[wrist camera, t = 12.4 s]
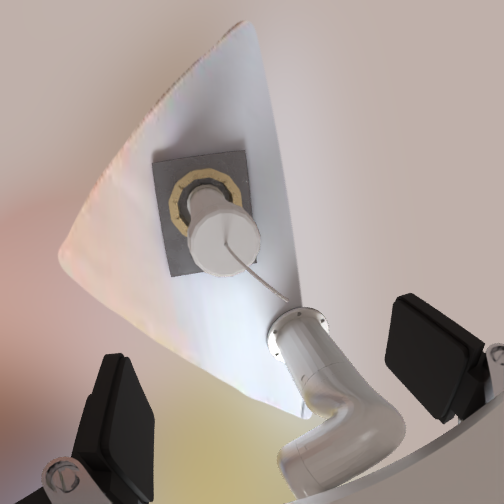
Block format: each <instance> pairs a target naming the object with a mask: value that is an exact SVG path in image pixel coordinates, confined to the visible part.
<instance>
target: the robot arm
mask: <svg viewBox="0 0 504 504" xmlns="http://www.w3.org/2000/svg"><path fill="white" fill-rule="evenodd" d="M328 334H329V325H328V322H327V320H326V318H325V317H324V316H323V314H322V313H320V312H319V311H318V310H315V309H313V308H308V307H301V308H296V309H293V310H290V311H288V312H286V313H284V314H283V315H282V316H280V317H279V318H278V319H277V320H276V321H275V322H274V324H273V325H272V326H271V328H270V330H269V333H268V337H267V344H268V348H269V350H270V352H271V354H272V355H273V356H274V357H275V358H276V359H277V360H279V361H282V362H285V364H286V366H287V368H288V370H289V372H290V374H291V376H292V378H293V381H294V382H295V384H296V386H297V388H298V390H299V392H300V394H301V396H302V398H303V400H304V402H305V404H306V406H307V407H308V408H309V409H310V410H311V411H312V412H313V413H314V414H316V415H318V416H320V417H322V418H325V419H328V420H326V421H325V422H323V423H322V424H321V425H319V426H317V427H316V428H314V429H312V430H311V431H309V432H307V433H305V434H303V435H302V436H300V437H298V438H297V439H295V440H293V441H291V442H290V443H288V444H286V445H285V446H283V447H282V449H280V451H279V452H278V455H277V464H278V468H279V470H280V472H281V475H282V477H283V478H284V480H285V482H286V484H287V485H288V487H289V489H290V490H291V492H292V493H293V495H294V496H295V498H296V499H297V500H296V501H292V502H289V503H285V504H504V344H500V343H497V344H493V345H490V346H489V347H488V348H487V351H486V353H484V352H483V348H484V345H485V343H483V342H482V341H481V340H479V339H478V338H477V337H475V336H474V335H473V334H471V333H470V332H468V331H467V330H465V329H464V328H463V327H461V326H460V325H458V324H457V323H456V322H454V321H453V320H451V319H450V318H448V317H447V316H445V315H444V314H443V313H441V312H440V311H438V310H437V309H435V308H434V307H432V306H431V305H429V304H428V303H426V302H425V301H423V300H422V299H420V298H419V297H417V296H415V295H414V294H412V293H408V294H405V295H402V296H399V297H397V299H396V301H395V302H394V304H393V308H392V316H391V323H390V330H389V336H388V342H387V348H386V354H385V363H386V365H387V367H388V368H389V369H390V370H391V371H392V372H393V374H395V376H396V377H397V378H398V379H399V380H400V381H401V382H402V383H403V384H404V385H405V387H407V389H408V390H409V391H410V392H411V393H412V394H413V395H414V396H415V397H416V399H417V400H418V401H419V402H420V403H421V404H422V405H423V406H424V407H425V408H426V409H427V411H428V412H429V413H430V414H431V415H432V416H433V417H434V418H435V419H439V420H440V421H441V422H442V423H443V424H445V423H446V422H448V421H449V420H451V419H452V418H453V417H454V416H455V414H456V415H457V416H458V425H457V426H455V427H454V428H453V429H451V430H449V431H448V432H446V433H445V434H443V435H442V436H440V437H438V438H437V439H435V440H434V441H432V442H430V443H429V444H427V445H425V446H424V447H422V448H420V449H418V450H417V451H415V452H413V453H411V454H410V455H407V456H406V457H404V458H402V459H400V460H398V461H396V462H394V463H392V464H390V465H388V466H386V467H384V468H382V469H380V470H377V471H376V472H373V473H371V474H369V475H367V476H364V477H362V478H359V479H357V480H355V481H352V482H349V483H347V484H344V485H342V486H339V485H341V484H343V483H345V482H347V481H348V480H350V479H352V478H354V477H355V476H358V475H359V474H361V473H363V472H364V471H366V470H368V469H369V468H371V467H373V466H374V465H376V464H377V463H379V462H380V461H382V460H383V459H385V458H386V457H387V456H389V455H390V454H391V453H392V452H393V451H394V450H395V449H396V448H397V447H398V446H399V445H400V443H401V442H402V441H403V439H404V437H405V433H406V425H405V422H404V419H403V417H402V416H401V414H400V413H399V412H398V410H397V409H396V408H395V407H394V406H393V405H391V404H390V403H389V402H388V401H387V400H385V399H384V398H383V397H382V396H381V395H379V394H378V393H377V392H376V391H375V390H374V389H373V388H372V387H371V386H370V385H369V384H368V383H367V382H366V381H365V379H364V378H363V377H362V376H361V375H360V374H359V372H358V371H357V370H356V369H355V367H354V366H353V365H352V363H351V362H350V361H349V360H348V359H347V357H346V356H345V355H344V353H343V352H342V351H341V350H340V348H339V347H338V346H337V345H336V343H335V342H334V341H333V340H332V339H331V337H330V336H329V335H328ZM154 424H155V419H154V414H153V412H152V409H151V407H150V405H149V403H148V401H147V399H146V396H145V394H144V392H143V390H142V387H141V385H140V383H139V380H138V378H137V376H136V373H135V371H134V368H133V366H132V363H131V361H130V359H129V358H128V357H124V355H123V354H122V353H116V354H106V355H105V356H104V358H103V361H102V364H101V367H100V370H99V373H98V376H97V379H96V382H95V385H94V388H93V392H92V394H90V395H89V396H88V398H87V400H86V404H85V407H84V410H83V414H82V417H81V421H80V425H79V428H78V432H77V436H76V439H75V443H74V447H73V451H72V456H71V457H58V458H56V459H53V460H52V461H50V462H49V463H47V465H46V466H45V467H44V469H43V472H42V475H41V482H42V485H43V487H41V488H40V489H38V490H37V491H35V492H33V493H32V494H30V495H28V496H27V497H25V498H24V499H22V500H20V501H18V502H17V503H15V504H149V502H152V501H153V499H154V492H153V490H154V488H153V461H154V460H153V459H154ZM337 486H339V487H337Z"/></svg>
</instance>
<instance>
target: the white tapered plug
mask: <svg viewBox="0 0 504 504" xmlns="http://www.w3.org/2000/svg"><path fill="white" fill-rule="evenodd" d="M187 208H188V211H189V213H190V215H191V222H190V225H189V227H188V230H187V239H188V247H189V249H190V253H191V255H192V257H193V260H194V262H195V264H196V265H198V266H199V267H200V268H201V269H202V270H203V271H204V272H205V273H208V274H211V275H214V276H217V277H231V276H234V275H237V274H239V273H241V272H244V271H245V270H247V271H248V272H249V273H250V274H251V275H253V276H254V277H255V278H256V279H257V280H258V281H260V282H261V283H262V284H263V285H264V286H266V287H267V288H268V289H269V290H271V291H272V292H273V293H275V294H276V295H277V296H279V297H280V298H281V299H283V300H284V301H285V302H287V303H288V301H289V300H288V299H287V298H286V297H284V296H283V295H282V294H280V293H279V292H278V291H276V290H275V289H274V288H273V287H271V286H270V285H269V284H267V283H266V282H265V281H264V280H263V279H261V278H260V277H259V276H258V275H257V274H255V273H254V272H253V271H252V270H251V269H250V268H249V266H250V265H251V264H252V263H253V262H254V261H255V259H256V257H257V254H258V252H259V250H260V233H259V230H258V228H257V225H256V223H255V222H254V221H253V218H252V217H251V216H250V215H249V214H248V213H247V212H246V211H245V210H244V209H243V208H242V207H240V206H238V205H236V204H233V203H231V202H228V201H227V200H226V199H225V197H224V195H223V193H222V192H221V191H220V190H219V189H218V188H217V187H215V186H213V185H200V186H198V187H196V188H195V189H194V190H193V191H192V192H191V193H190V195H189V197H188V199H187Z"/></svg>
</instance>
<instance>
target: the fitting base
mask: <svg viewBox="0 0 504 504" xmlns="http://www.w3.org/2000/svg"><path fill="white" fill-rule="evenodd" d="M152 168H153V175H154V183H155V190H156V196H157V203H158V209H159V215H160V221H161V227H162V232H163V238H164V243H165V249H166V254H167V259H168V264H169V269H170V274H171V277H175V276H181V275H187V274H193V273H200V272H204V271H203V270H202V269H201V268H200V267H199V266H198V265H196V264H195V262H194V260H193V257H192V255H191V253H190V249H189V247H188V239H187V230H188V227H189V225H190V222H191V215H190V213H189V211H188V208H187V199H188V197H189V195H190V193H191V192H192V191H193V190H194V189H195V188H196V187H198V186H200V185H213V186H215V187H217V188H218V189H219V190H220V191H221V192H222V193H223V195H224V197H225V199H226V200H227V201H228V202H231V203H233V204H236V205H238V206H240V207H242V208H243V209H244V210H245V211H246V212H247V213H248V214H249V215H250V216H251V217H252V211H251V201H250V191H249V182H248V172H247V162H246V153H245V150H243V151H233V152H225V153H216V154H208V155H201V156H194V157H187V158H180V159H174V160H168V161H162V162H156V163H152ZM253 263H257V260H256V259H255V261H254V262H253ZM253 263H252V264H253Z"/></svg>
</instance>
